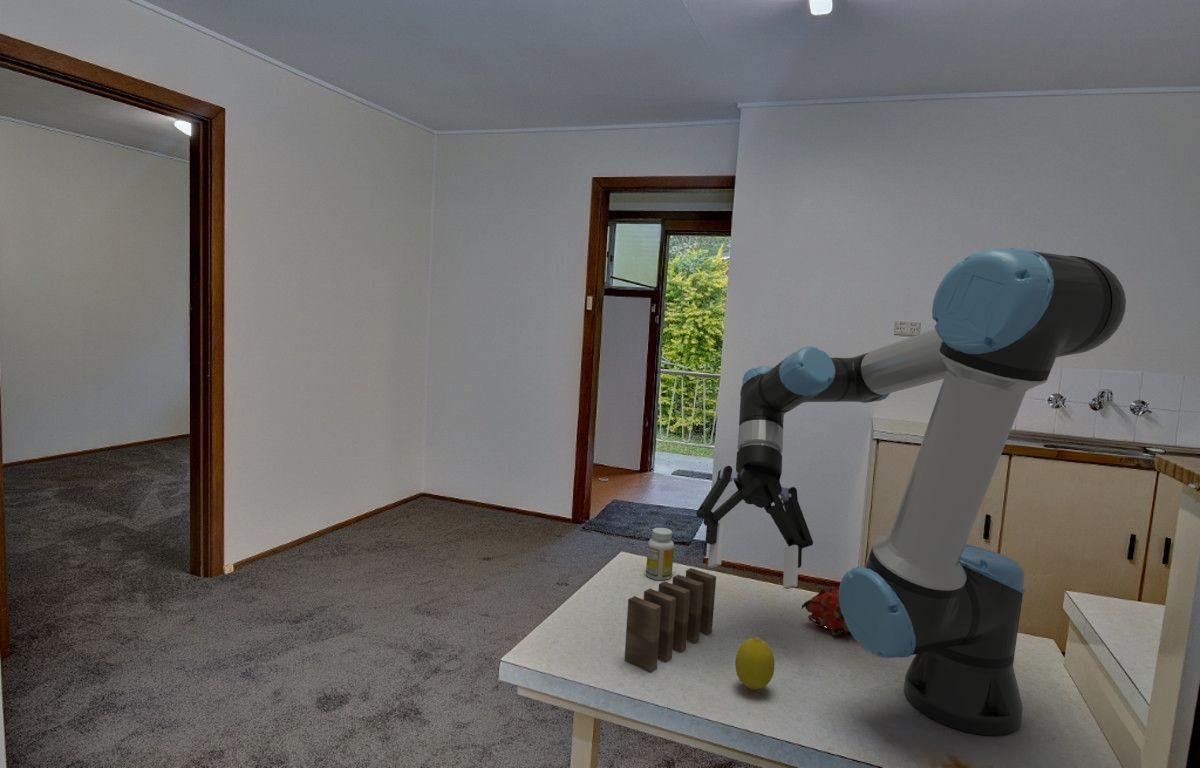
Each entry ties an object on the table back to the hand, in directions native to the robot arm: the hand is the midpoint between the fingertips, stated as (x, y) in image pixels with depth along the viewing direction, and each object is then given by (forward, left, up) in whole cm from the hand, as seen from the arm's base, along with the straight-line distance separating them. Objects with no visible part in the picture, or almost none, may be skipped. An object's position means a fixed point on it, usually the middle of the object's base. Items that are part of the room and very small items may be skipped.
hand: (752, 577), depth 107 cm
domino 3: (+12, +4, -14) cm, 19 cm away
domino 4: (+12, -1, -14) cm, 18 cm away
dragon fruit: (-6, -22, -14) cm, 27 cm away
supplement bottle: (+30, -20, -14) cm, 38 cm away
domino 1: (+12, +12, -14) cm, 22 cm away
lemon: (-4, +6, -14) cm, 16 cm away
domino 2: (+12, +8, -14) cm, 20 cm away
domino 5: (+12, -5, -14) cm, 19 cm away
